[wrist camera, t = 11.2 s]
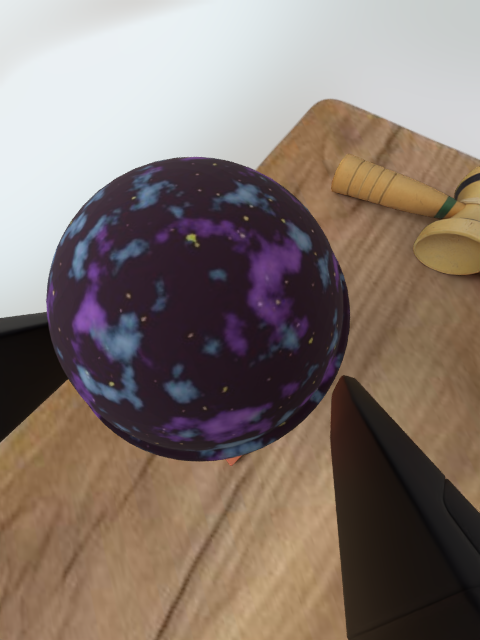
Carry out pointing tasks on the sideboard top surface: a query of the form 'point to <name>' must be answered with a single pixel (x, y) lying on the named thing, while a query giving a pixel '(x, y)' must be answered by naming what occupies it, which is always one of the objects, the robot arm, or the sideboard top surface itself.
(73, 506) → the sideboard top surface
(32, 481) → the sideboard top surface
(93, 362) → the lollipop
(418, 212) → the kendama
